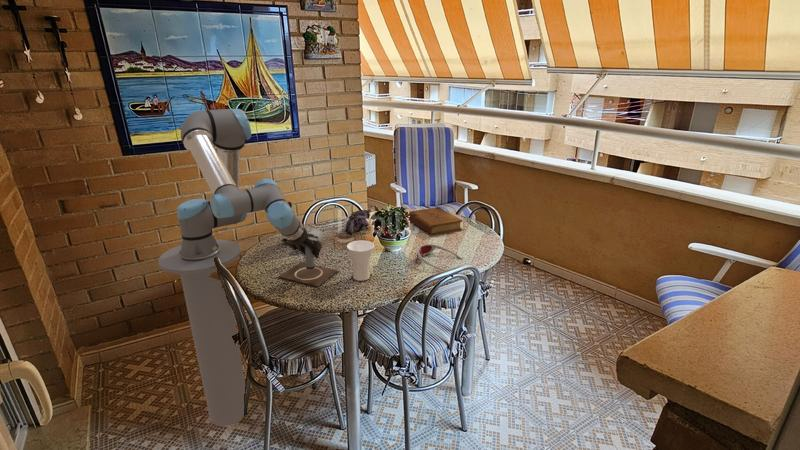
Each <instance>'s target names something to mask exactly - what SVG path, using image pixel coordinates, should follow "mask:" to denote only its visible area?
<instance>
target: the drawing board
mask: <svg viewBox="0 0 800 450" xmlns="http://www.w3.org/2000/svg"><path fill="white" fill-rule="evenodd" d="M338 271H339V270H337V269H332V268H328V267H324V266H319V265H315V268H313V269H307V268H306V262H299V263H298V264H296V265H295V266H293V267H292V268H290V269H289V270H287V271H285V272H284V273H282V274H281V275H279V276H278V278H279V279H283V280H285V281H290V282H295V283H299V284H302V285H306V286H310V287H314V288H319V287H320V286H321V285H323V284H324V283H326V281H328V280H329V279H330V278H332V277H333V276H334V275H335V274H337V273H338Z"/></svg>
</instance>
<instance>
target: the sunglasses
mask: <svg viewBox="0 0 800 450" xmlns="http://www.w3.org/2000/svg"><path fill="white" fill-rule="evenodd" d="M436 249H437V250H441V251H444V252H448V253H450V254H452V255H454V256H455V257H457V258H458V259H462V257H461V256H460V255H458V254H456V253H455V252H453V251H451V250H450V249H447V248H445V247H443V246H441V245H438V244H434V243H425V244H421V245H419V246H418V248H417V250H416V252H417V253H416V262H417V263H418V264H419V263H424V264H425V265H427V266H430V267H433V268H435V269H437V270H439V271H441V272H444V271H445V270H446V269H444V268H441V267H439V266H437V265H434V264H432V263H431V262H429V261H427V259H425V258H423V257H424V256H426V255H428V254H430V253H432V252H433V251H435V250H436ZM422 256H423V257H422Z"/></svg>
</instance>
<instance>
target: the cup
mask: <svg viewBox="0 0 800 450" xmlns="http://www.w3.org/2000/svg"><path fill="white" fill-rule="evenodd" d="M346 248H347V251H348V254H349V256H350V259H351V262H352V268H353V277H352V278H353V279H354V280H355V281H359V282H362V281H368V280H369V279H370V278H371V275H370V264H371V258H372V255H373V252H374V249H375V243H374V242H373V241H370V240H363V239H362V240H359V239H358V240H353V241H350V242H349V243H347V245H346Z"/></svg>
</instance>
